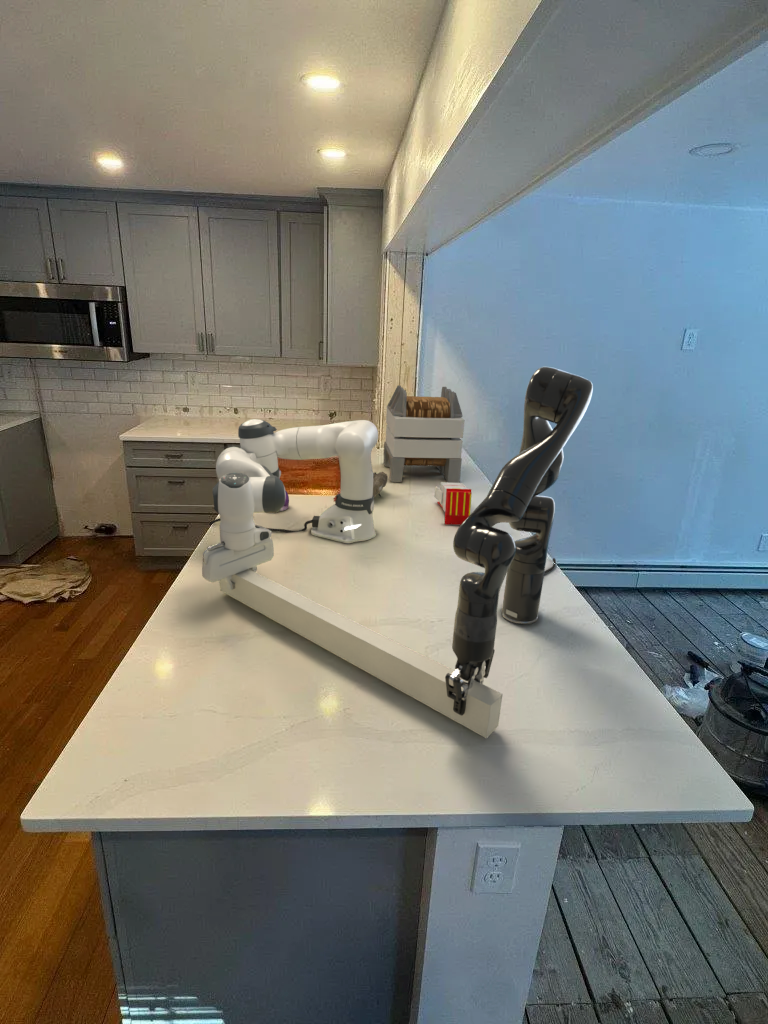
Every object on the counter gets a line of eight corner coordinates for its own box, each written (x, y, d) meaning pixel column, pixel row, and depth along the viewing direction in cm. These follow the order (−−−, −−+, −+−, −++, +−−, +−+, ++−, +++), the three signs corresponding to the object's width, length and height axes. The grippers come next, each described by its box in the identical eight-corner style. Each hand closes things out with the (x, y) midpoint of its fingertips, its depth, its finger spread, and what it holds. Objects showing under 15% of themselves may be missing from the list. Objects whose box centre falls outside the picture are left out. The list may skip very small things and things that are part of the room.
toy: (462, 478, 235) (476, 490, 206) (460, 509, 238) (473, 526, 208) (433, 477, 234) (442, 489, 205) (431, 509, 237) (440, 525, 208)
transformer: (382, 463, 289) (386, 382, 275) (445, 464, 293) (451, 384, 279) (390, 482, 257) (394, 392, 243) (460, 483, 261) (468, 394, 247)
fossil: (356, 478, 247) (383, 459, 242) (370, 494, 250) (397, 476, 245) (349, 499, 228) (378, 479, 223) (363, 516, 230) (393, 497, 225)
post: (220, 590, 153) (218, 565, 150) (234, 585, 156) (232, 560, 153) (486, 738, 104) (490, 705, 102) (498, 726, 107) (502, 693, 105)
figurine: (269, 514, 212) (268, 475, 207) (262, 505, 221) (260, 468, 216) (293, 511, 217) (293, 473, 212) (285, 503, 225) (284, 466, 220)
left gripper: (209, 552, 135) (213, 603, 140) (276, 529, 150) (278, 576, 155) (194, 545, 139) (199, 594, 144) (261, 523, 154) (263, 569, 159)
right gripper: (471, 654, 95) (462, 735, 101) (512, 621, 106) (501, 696, 112) (435, 637, 100) (428, 715, 106) (477, 607, 110) (469, 680, 116)
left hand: (240, 585), depth 150 cm, fingers closed on post, 4 cm apart
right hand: (466, 705), depth 109 cm, fingers closed on post, 4 cm apart
